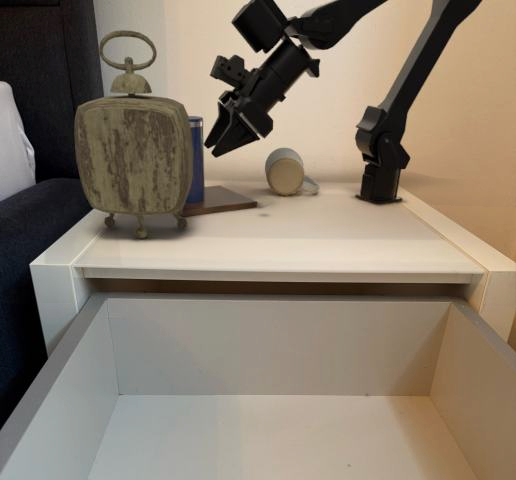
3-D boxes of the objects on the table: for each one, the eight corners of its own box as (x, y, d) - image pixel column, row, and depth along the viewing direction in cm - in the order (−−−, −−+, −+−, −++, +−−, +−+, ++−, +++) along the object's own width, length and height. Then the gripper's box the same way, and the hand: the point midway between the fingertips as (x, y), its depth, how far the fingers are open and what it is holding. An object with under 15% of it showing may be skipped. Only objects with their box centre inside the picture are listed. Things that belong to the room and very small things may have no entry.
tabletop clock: (196, 226, 76) (189, 34, 64) (191, 245, 69) (182, 30, 56) (100, 224, 76) (74, 30, 63) (84, 243, 68) (51, 26, 55)
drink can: (208, 196, 89) (206, 116, 82) (200, 203, 84) (198, 119, 78) (178, 194, 90) (174, 115, 83) (169, 201, 85) (164, 118, 78)
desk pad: (219, 190, 98) (219, 185, 97) (257, 207, 87) (257, 201, 87) (151, 197, 91) (151, 192, 90) (183, 216, 81) (183, 210, 80)
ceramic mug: (265, 196, 94) (267, 153, 90) (263, 186, 101) (265, 146, 97) (321, 198, 94) (326, 155, 91) (315, 188, 102) (319, 148, 98)
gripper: (230, 36, 84) (168, 108, 88) (253, 32, 69) (177, 120, 72) (273, 89, 90) (214, 155, 93) (304, 96, 74) (231, 175, 77)
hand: (209, 150), depth 84 cm, fingers open, 9 cm apart
